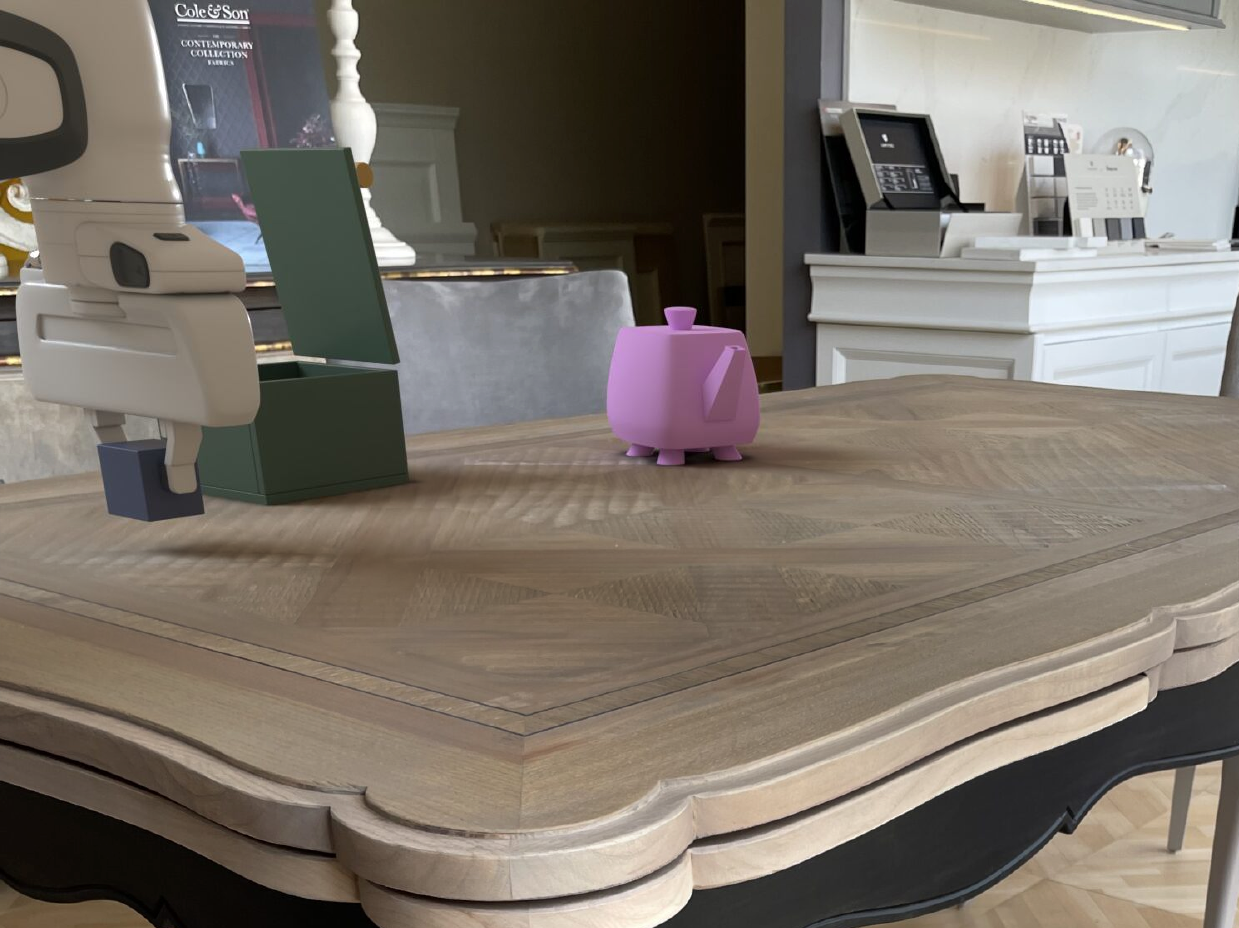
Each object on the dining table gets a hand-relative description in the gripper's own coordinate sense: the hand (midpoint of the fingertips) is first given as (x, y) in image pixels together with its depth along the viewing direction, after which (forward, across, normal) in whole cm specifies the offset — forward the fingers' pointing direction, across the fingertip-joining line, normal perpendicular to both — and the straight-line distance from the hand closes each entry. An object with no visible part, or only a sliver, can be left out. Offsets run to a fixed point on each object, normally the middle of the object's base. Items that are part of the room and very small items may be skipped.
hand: (152, 487), depth 105 cm
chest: (+4, -14, +23) cm, 27 cm away
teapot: (+3, +1, +56) cm, 56 cm away
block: (+2, 0, 0) cm, 2 cm away
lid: (-13, -14, +28) cm, 34 cm away
